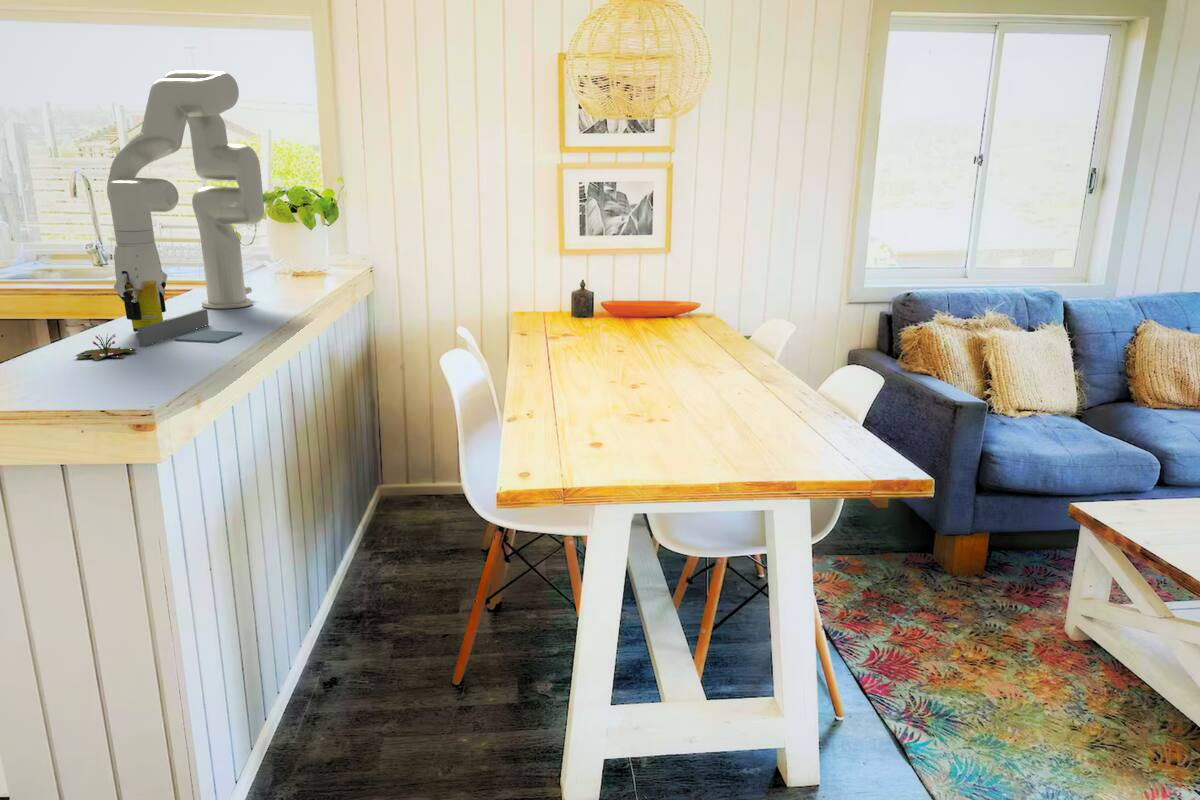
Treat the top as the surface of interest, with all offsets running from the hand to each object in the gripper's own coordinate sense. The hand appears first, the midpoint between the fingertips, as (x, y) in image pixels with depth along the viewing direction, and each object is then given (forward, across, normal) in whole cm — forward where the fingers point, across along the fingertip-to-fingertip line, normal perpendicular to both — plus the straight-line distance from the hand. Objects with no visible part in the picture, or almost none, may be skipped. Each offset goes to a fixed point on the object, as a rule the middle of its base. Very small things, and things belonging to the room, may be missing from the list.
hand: (146, 315), depth 183 cm
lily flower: (+4, +21, +5) cm, 22 cm away
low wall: (+4, +1, +7) cm, 8 cm away
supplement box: (+3, 0, 0) cm, 3 cm away
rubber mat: (+4, +1, +15) cm, 16 cm away
